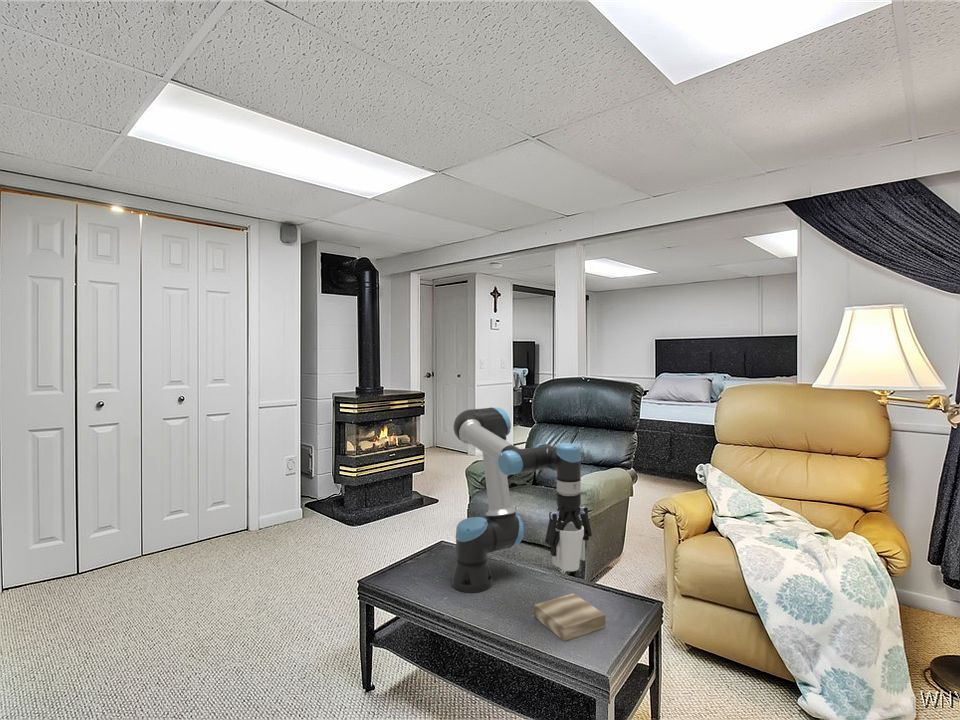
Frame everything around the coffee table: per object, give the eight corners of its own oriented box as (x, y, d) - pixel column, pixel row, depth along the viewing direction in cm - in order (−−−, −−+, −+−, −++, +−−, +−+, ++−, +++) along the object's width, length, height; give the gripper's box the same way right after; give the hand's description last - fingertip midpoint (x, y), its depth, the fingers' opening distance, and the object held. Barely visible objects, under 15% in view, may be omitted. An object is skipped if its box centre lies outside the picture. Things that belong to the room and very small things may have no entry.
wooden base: (534, 616, 171) (534, 604, 170) (573, 604, 178) (573, 593, 178) (564, 641, 156) (564, 628, 156) (605, 627, 164) (605, 614, 164)
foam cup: (550, 570, 164) (550, 529, 164) (558, 559, 173) (558, 520, 172) (579, 575, 160) (579, 534, 160) (587, 564, 169) (587, 524, 168)
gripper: (547, 501, 157) (547, 574, 158) (603, 490, 168) (603, 559, 168) (533, 494, 164) (533, 564, 165) (588, 485, 174) (588, 551, 175)
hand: (568, 562), depth 167 cm, fingers closed on foam cup, 9 cm apart
